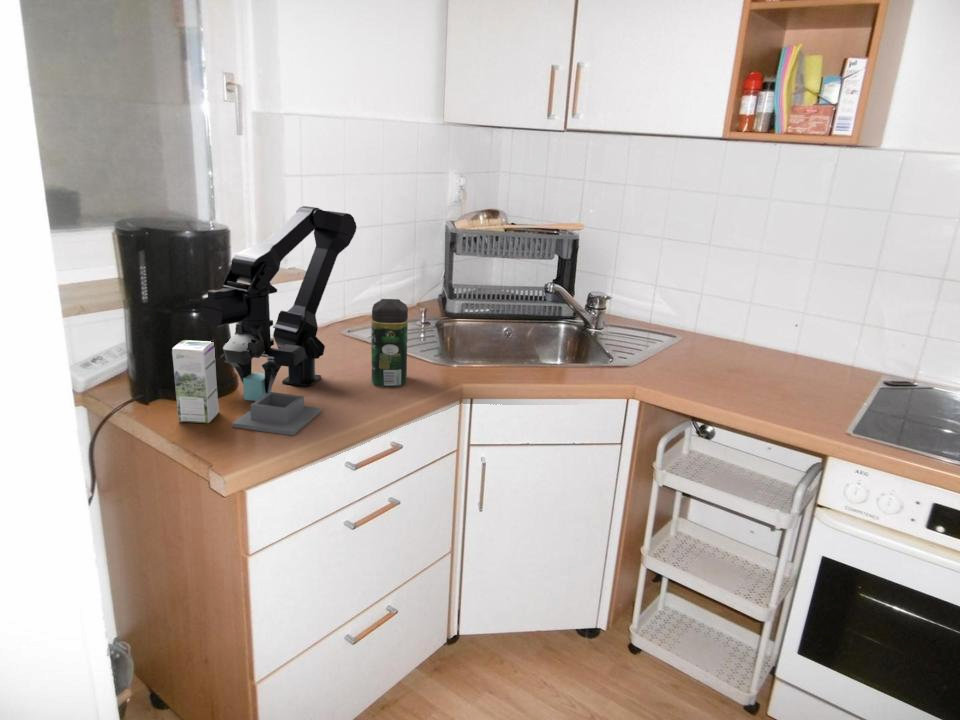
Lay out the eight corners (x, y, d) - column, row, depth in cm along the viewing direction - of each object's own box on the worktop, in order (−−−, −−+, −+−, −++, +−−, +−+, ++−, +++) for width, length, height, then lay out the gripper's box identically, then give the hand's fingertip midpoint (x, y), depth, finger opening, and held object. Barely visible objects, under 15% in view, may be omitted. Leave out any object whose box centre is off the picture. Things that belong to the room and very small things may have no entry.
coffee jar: (372, 374, 156) (372, 295, 150) (406, 375, 157) (408, 296, 151) (369, 389, 147) (370, 305, 141) (406, 389, 147) (408, 307, 142)
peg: (254, 392, 140) (253, 372, 139) (271, 395, 140) (271, 374, 138) (244, 399, 137) (243, 378, 135) (262, 401, 136) (261, 380, 135)
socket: (264, 404, 135) (263, 386, 134) (321, 411, 133) (320, 393, 132) (232, 427, 124) (231, 407, 123) (293, 435, 122) (293, 416, 121)
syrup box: (219, 412, 130) (215, 340, 125) (208, 424, 124) (203, 349, 120) (189, 410, 130) (184, 338, 125) (177, 423, 124) (170, 347, 120)
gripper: (187, 322, 127) (193, 399, 132) (279, 332, 124) (281, 411, 129) (220, 309, 138) (224, 381, 142) (305, 318, 134) (307, 392, 139)
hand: (257, 391), depth 138 cm, fingers closed on peg, 4 cm apart
